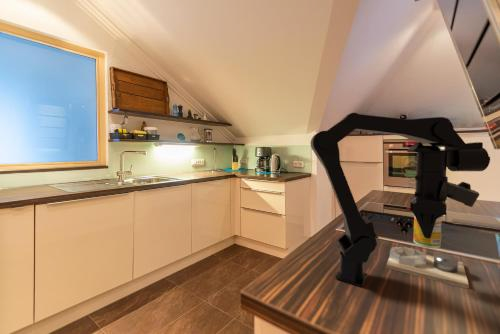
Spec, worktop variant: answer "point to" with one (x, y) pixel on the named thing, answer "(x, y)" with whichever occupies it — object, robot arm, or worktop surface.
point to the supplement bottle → (426, 242)
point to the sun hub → (446, 263)
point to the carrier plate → (432, 272)
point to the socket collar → (413, 262)
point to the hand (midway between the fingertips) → (427, 234)
